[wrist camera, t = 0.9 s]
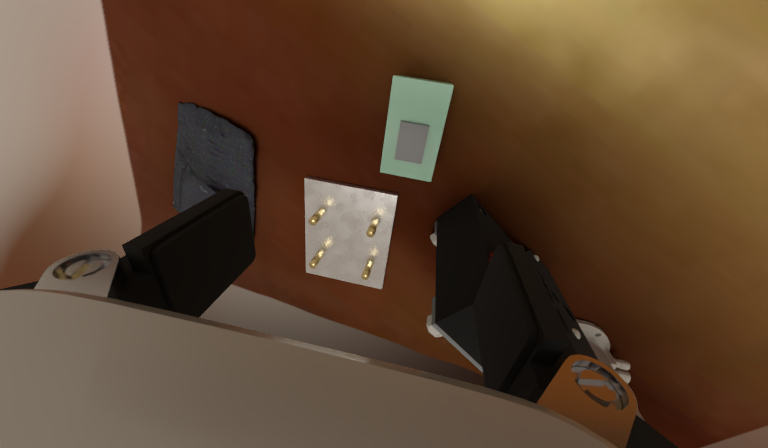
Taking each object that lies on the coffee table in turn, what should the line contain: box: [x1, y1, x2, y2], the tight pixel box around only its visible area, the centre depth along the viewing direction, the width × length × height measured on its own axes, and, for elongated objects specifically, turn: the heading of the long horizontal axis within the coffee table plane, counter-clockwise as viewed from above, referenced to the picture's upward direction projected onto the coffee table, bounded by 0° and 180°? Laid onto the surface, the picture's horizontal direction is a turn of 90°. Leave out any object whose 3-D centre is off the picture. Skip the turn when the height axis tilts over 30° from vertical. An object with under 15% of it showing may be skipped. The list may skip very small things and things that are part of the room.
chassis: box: [305, 176, 398, 289], centre depth 43 cm, size 14×18×4 cm
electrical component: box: [426, 194, 599, 373], centre depth 33 cm, size 18×10×20 cm, turn 45°
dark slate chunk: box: [173, 102, 255, 231], centre depth 43 cm, size 15×22×5 cm
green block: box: [380, 75, 454, 182], centre depth 32 cm, size 6×10×8 cm, turn 172°
